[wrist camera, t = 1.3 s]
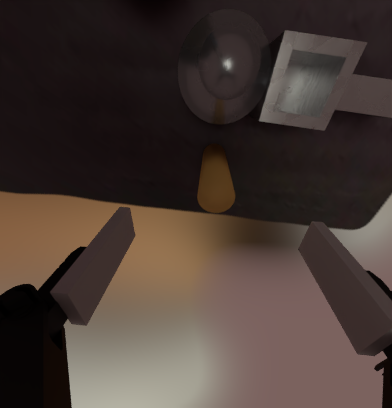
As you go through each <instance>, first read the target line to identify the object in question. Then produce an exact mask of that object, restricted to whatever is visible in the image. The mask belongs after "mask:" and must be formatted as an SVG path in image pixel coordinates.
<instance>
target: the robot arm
mask: <svg viewBox="0 0 392 408" xmlns="http://www.w3.org/2000/svg"><path fill="white" fill-rule="evenodd" d="M134 237H135V232H134V227H133V222H132V216H131V211H130V208H127V207H119V209H118V210H117V211H116V212H115V213H114V215H113V216H112V217H111V218H110V219H109V221H108V222H107V223H106V224H105V226H104V227H103V228H102V229H101V231H100V232H99V233H98V234H97V235H96V237H95V238H94V239H93V240H92V242H91V243H90V244H89V245H88V246H87V247H79V248H77V249H76V250H75V251H73V252H72V253H71V254H70V255H69V256H68V257H67V258H66V259H65V261H64V262H63V263H62V264H61V265H60V266H59V268H57V269H56V271H55V272H54V273H53V274H52V275H51V276H50V277H49V278H48V279H47V281H46V282H45V283H44V284H43V285H42V286H41V287H40V288H39V290H38V291H37V290H36V288H35V287H34V286H33V285H31V284H22V285H18V286H15V287H13V288H11V289H9V290H7V291H6V292H5V293H3V294H2V295H0V408H72V407H71V395H70V384H69V373H68V362H67V350H66V339H65V329H64V326H63V325H64V323H65V322H66V320H67V319H69V321H70V322H71V324H76V325H87V324H88V322H89V320H90V318H91V316H92V315H93V313H94V311H95V309H96V307H97V305H98V304H99V302H100V300H101V298H102V296H103V294H104V293H105V291H106V289H107V287H108V285H109V283H110V281H111V280H112V278H113V276H114V274H115V272H116V270H117V268H118V267H119V265H120V263H121V261H122V259H123V257H124V255H125V254H126V252H127V250H128V248H129V246H130V245H131V243H132V241H133V239H134ZM298 250H299V251H300V253H301V255H302V256H303V258H304V260H305V262H306V264H307V266H308V267H309V269H310V271H311V273H312V274H313V276H314V278H315V280H316V282H317V283H318V285H319V287H320V289H321V290H322V292H323V294H324V295H325V297H326V299H327V301H328V303H329V305H330V306H331V308H332V310H333V312H334V313H335V315H336V317H337V319H338V321H339V322H340V324H341V326H342V328H343V329H344V331H345V333H346V335H347V336H348V338H349V340H350V342H351V344H352V345H353V347H354V349H355V351H356V352H357V354H360V355H369V356H375V355H377V354H378V353H380V352H381V351H383V352H384V353H385V355H386V356H387V359H385V360H384V361H382V362H380V363H379V364H377V365H376V366H375V368H374V369H375V370H376V371H379V370H380V369H382V368H384V373H383V374H382V375H383V402H382V408H392V291H390V290H389V288H388V287H387V286H386V285H385V283H384V282H383V281H382V280H381V279H380V278H378V277H377V276H376V275H374V274H373V273H372V272H370V271H366V270H364V269H363V267H362V266H361V265H360V264H359V263H358V262H357V261H356V259H355V258H354V257H353V256H352V255H351V254H350V253H349V251H348V250H347V249H346V248H345V247H344V246H343V245H342V243H341V242H340V241H339V240H338V239H337V238H336V237H335V235H334V234H333V233H332V232H331V231H330V230H329V229H328V228H327V226H326V225H325V224H324V223H323V222H313V221H312V222H311V224H310V226H309V228H308V230H307V232H306V234H305V236H304V239H303V240H302V243H301V245H300V247H299V249H298Z"/></svg>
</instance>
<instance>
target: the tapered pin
mask: <svg viewBox="0 0 392 408" xmlns="http://www.w3.org/2000/svg"><path fill="white" fill-rule="evenodd" d="M197 199H198V202H199V204H200V206H201V207H202V208H203V209H204V210H206V211H208V212H212V213H220V212H224V211H226V210H227V209H229V208H230V207H231V206H232V205H233V203H234V200H235V192H234V188H233V184H232V179H231V175H230V171H229V167H228V163H227V159H226V155H225V151H224V149H223V147H222V146H220V145H219V144H210V145H208V146H207V147H206V148H205V150H204V152H203V158H202V166H201V173H200V180H199V188H198V195H197Z"/></svg>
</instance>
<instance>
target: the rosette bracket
mask: <svg viewBox="0 0 392 408" xmlns="http://www.w3.org/2000/svg"><path fill="white" fill-rule="evenodd" d="M366 44H367V42H361V41H354V40H347V39H341V38H334V37H327V36H320V35H314V34H307V33H300V32H293V31H287V30H285V31H284V32H283V33H281V34H280V35H279V36H278V37H277V38H276V39H275V40H273V41H272V42H271V43H270V44H269V43H268V40H267V38H266V35H265V33H264V31H263V29H262V28H261V27H260V25H259V24H258V23H257V22H256V21H255V20H254V19H253V18H252V17H251V16H249V15H248V14H246V13H244V12H242V11H239V10H235V9H223V10H218V11H215V12H212V13H210V14H208V15H207V16H205V17H204V18H202V19H201V20H200V21H199V22H198V23H197V24H196V25H195V26H194V27H193V28H192V30H191V31H190V32H189V34H188V36H187V37H186V39H185V41H184V44H183V46H182V49H181V52H180V56H179V61H178V82H179V87H180V91H181V94H182V97H183V99H184V101H185V103H186V104H187V106H188V107H189V109H190V110H191V111H192V112H193V113H194V114H195V115H196V116H197V117H199V118H200V119H202V120H204V121H206V122H209V123H212V124H228V123H232V122H235V121H237V120H239V119H241V118H243V117H244V116H246V115H249V116H251V117H252V118H254V119H256V120H258V121H262V122H269V123H276V124H282V125H289V126H296V127H303V128H310V129H317V130H323V131H325V129H326V127H327V125H328V123H329V121H330V119H331V117H332V114H333V112H334V110H339V111H346V112H352V113H358V114H363V115H370V116H377V117H385V118H392V80H389V79H383V78H376V77H369V76H362V75H356V74H352V73H353V71H354V69H355V67H356V65H357V63H358V61H359V59H360V57H361V55H362V53H363V50H364V48H365V46H366Z"/></svg>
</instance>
